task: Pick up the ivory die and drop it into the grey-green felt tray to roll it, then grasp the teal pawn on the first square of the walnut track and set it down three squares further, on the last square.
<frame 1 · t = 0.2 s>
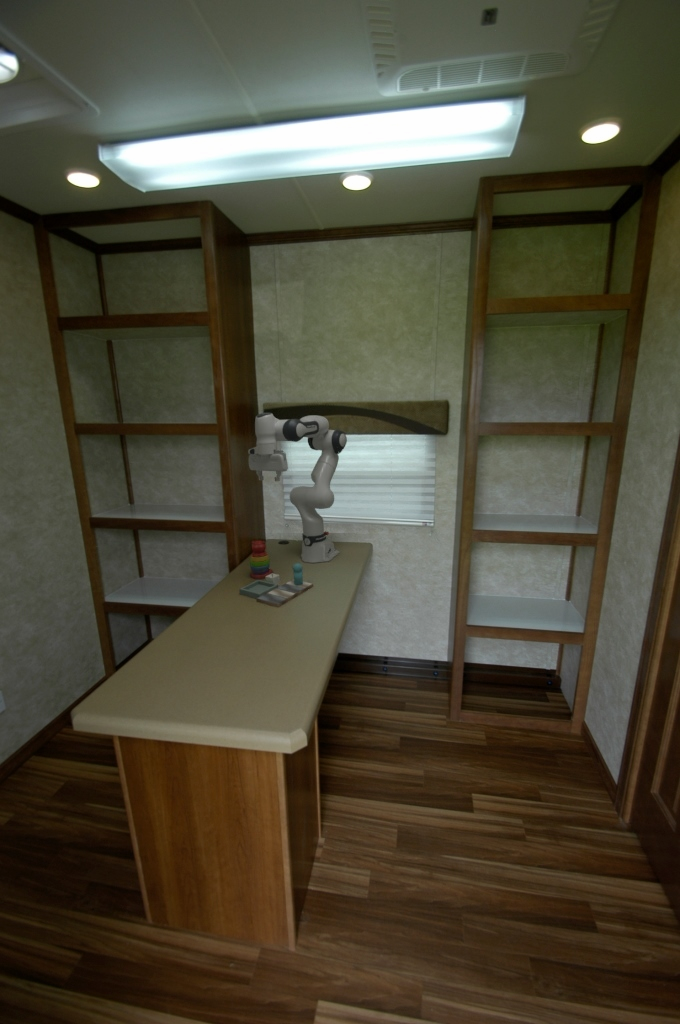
hand: (269, 480, 194), 47 cm above the table, fingers open, 8 cm apart
tray: (259, 591, 189), on the table
stacking bear: (261, 575, 209), on the table
board: (286, 593, 186), on the table
die: (273, 584, 197), on the table
pawn: (298, 583, 193), point 1 cm above the table, touching board
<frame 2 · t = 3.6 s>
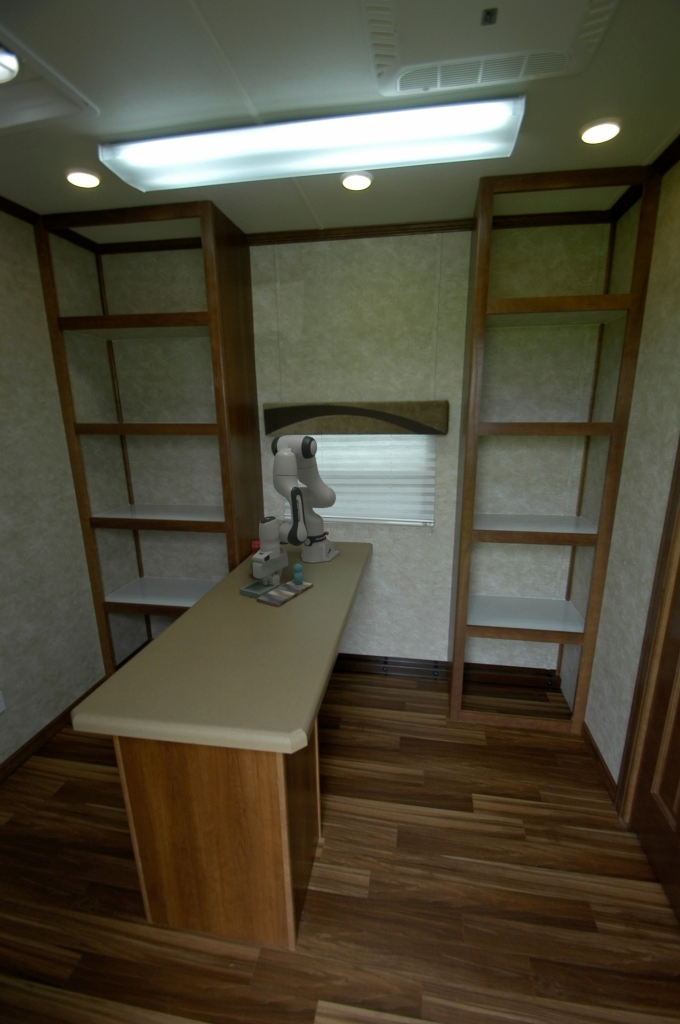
hand: (272, 581, 196), 2 cm above the table, fingers open, 7 cm apart
nothing on the table moved.
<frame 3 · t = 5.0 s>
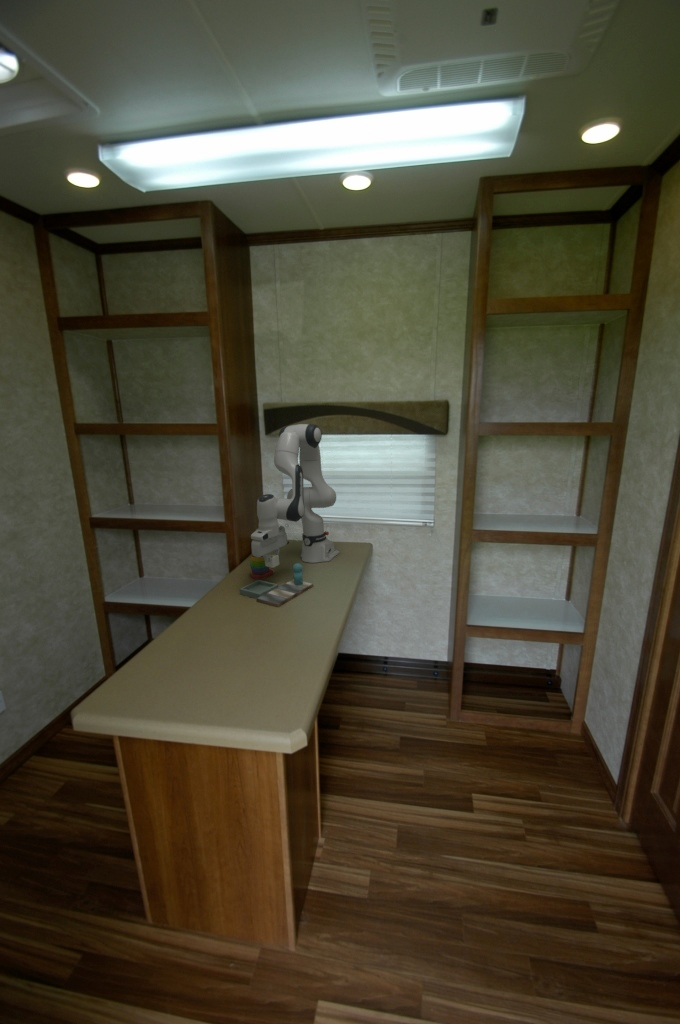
hand: (271, 559, 195), 12 cm above the table, fingers closed on die, 4 cm apart
die: (272, 565, 195), point 9 cm above the table, touching gripper
everything else where it was.
when the fingers open (11 cm above the table, at t = 6.0 s): die drops 8 cm, resting on tray.
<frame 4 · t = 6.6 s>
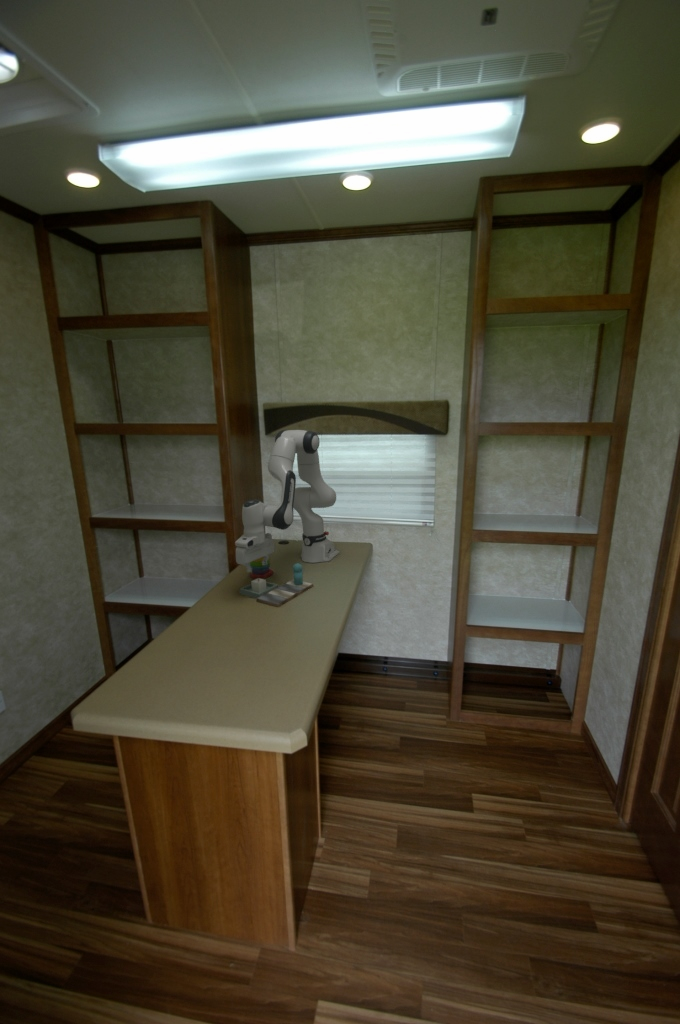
hand: (257, 568, 187), 11 cm above the table, fingers open, 8 cm apart
die: (259, 590, 189), point 1 cm above the table, touching tray
everything else where it was.
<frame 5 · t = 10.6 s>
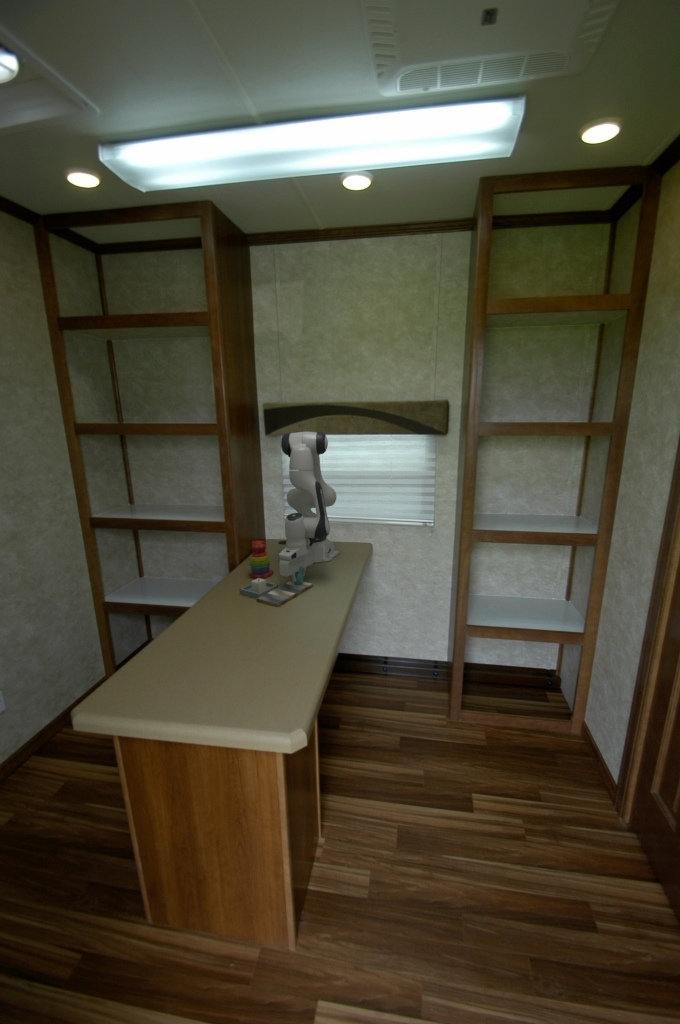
hand: (298, 579, 193), 4 cm above the table, fingers closed on pawn, 4 cm apart
pawn: (298, 583, 193), point 1 cm above the table, touching board, gripper
everything else where it was.
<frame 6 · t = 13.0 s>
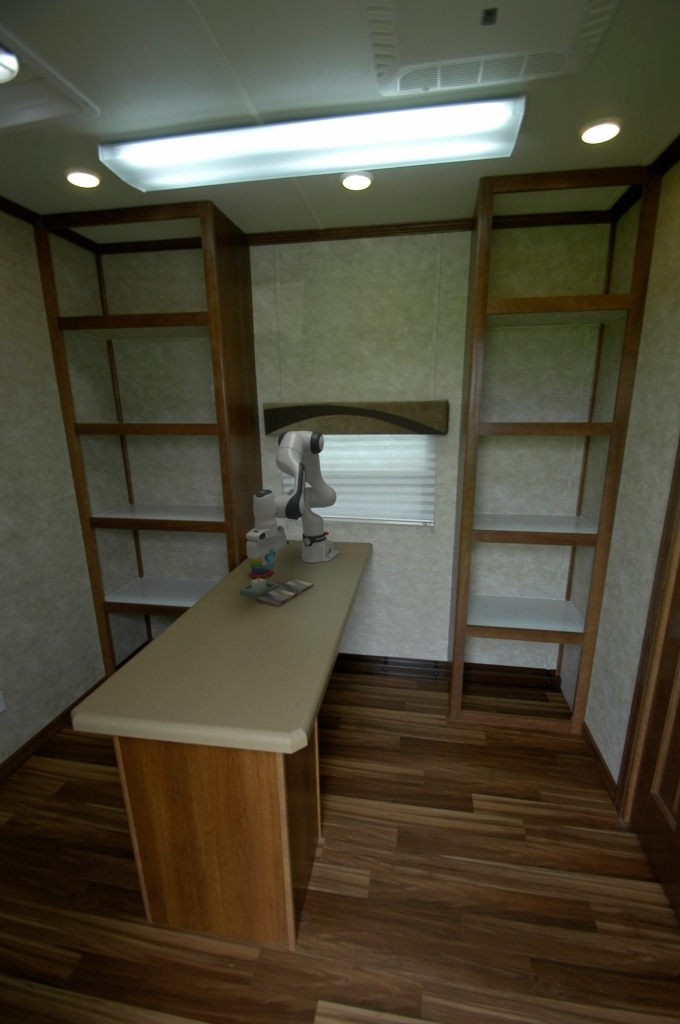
hand: (269, 563, 175), 17 cm above the table, fingers closed on pawn, 4 cm apart
pawn: (269, 567, 175), point 15 cm above the table, touching gripper
everything else where it was.
when the fingers open (5 cm above the table, at t = 15.5 s): pawn drops 1 cm, resting on board.
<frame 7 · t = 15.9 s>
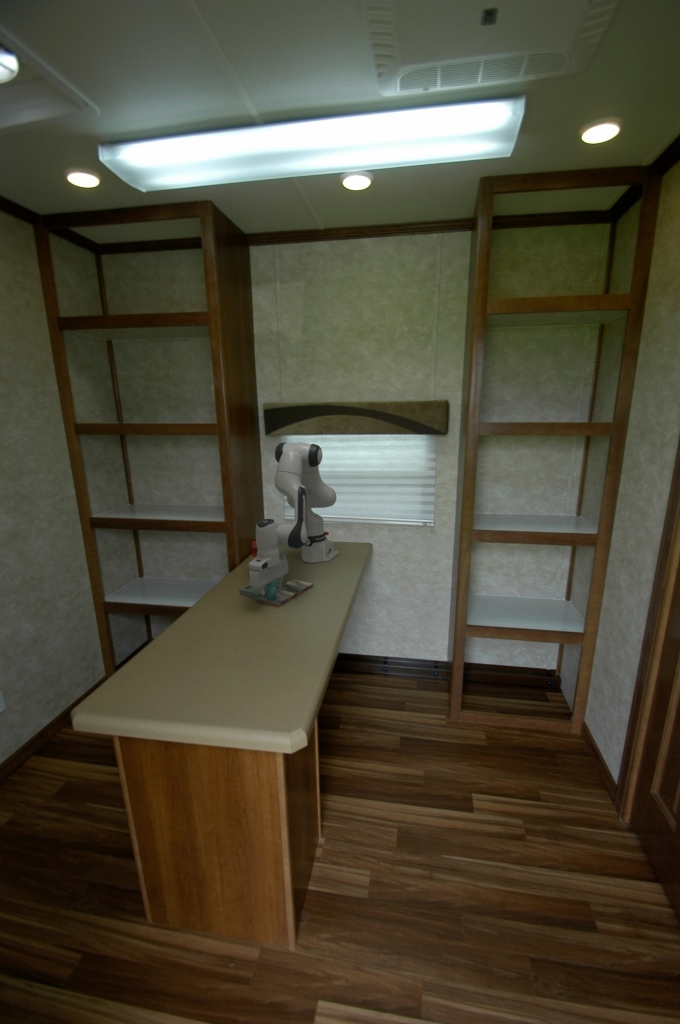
hand: (271, 590, 178), 5 cm above the table, fingers open, 8 cm apart
pawn: (272, 598, 179), point 1 cm above the table, touching board
everything else where it was.
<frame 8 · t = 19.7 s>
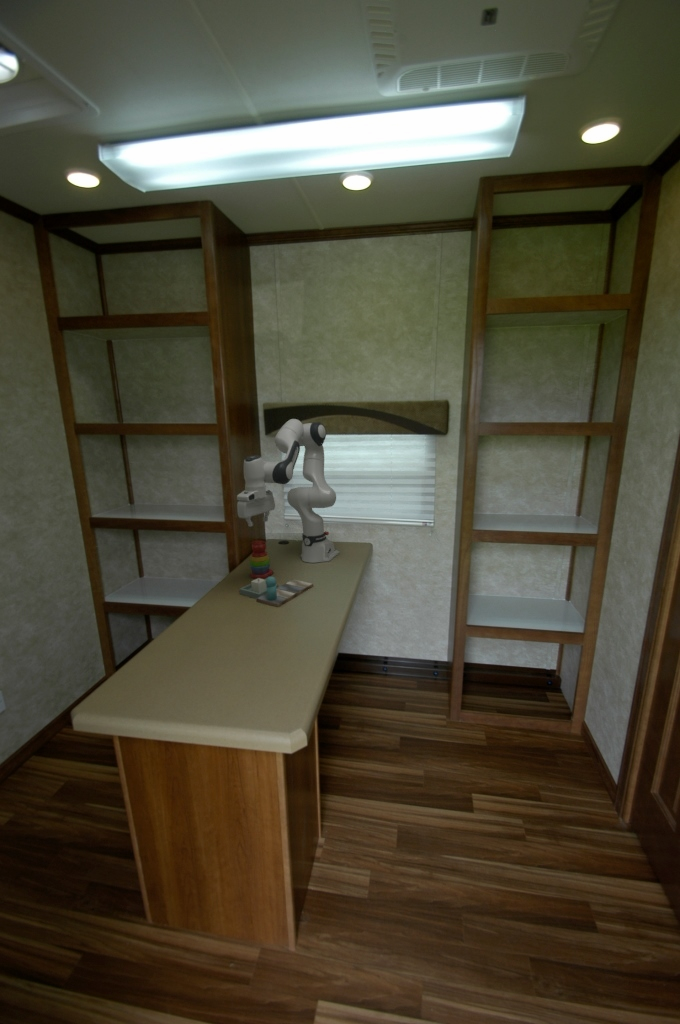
hand: (258, 523, 191), 29 cm above the table, fingers open, 8 cm apart
nothing on the table moved.
at the end: pawn 0.1 cm from the target spot, point 1.4 cm above the table; pawn tilted 0°; die inside the target area (0.1 cm from its centre), point 0.8 cm above the table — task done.
